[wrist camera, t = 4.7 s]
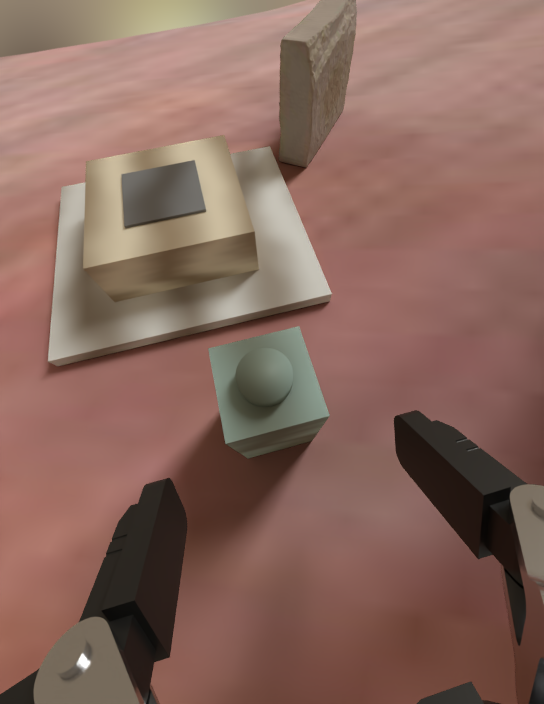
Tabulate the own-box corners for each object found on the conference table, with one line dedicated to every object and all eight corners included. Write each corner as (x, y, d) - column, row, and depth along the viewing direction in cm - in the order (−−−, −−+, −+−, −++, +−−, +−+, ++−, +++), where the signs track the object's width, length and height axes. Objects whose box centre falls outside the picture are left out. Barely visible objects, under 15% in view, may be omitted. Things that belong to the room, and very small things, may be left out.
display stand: (270, 155, 32) (267, 98, 27) (329, 301, 24) (341, 255, 19) (68, 196, 30) (28, 142, 25) (57, 366, 22) (-5, 334, 17)
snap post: (293, 380, 21) (299, 317, 13) (312, 440, 19) (332, 411, 11) (234, 395, 21) (203, 340, 13) (247, 458, 19) (221, 441, 11)
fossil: (316, 105, 36) (327, -16, 27) (343, 110, 35) (364, -12, 26) (277, 162, 31) (275, 40, 23) (307, 170, 31) (317, 46, 22)
